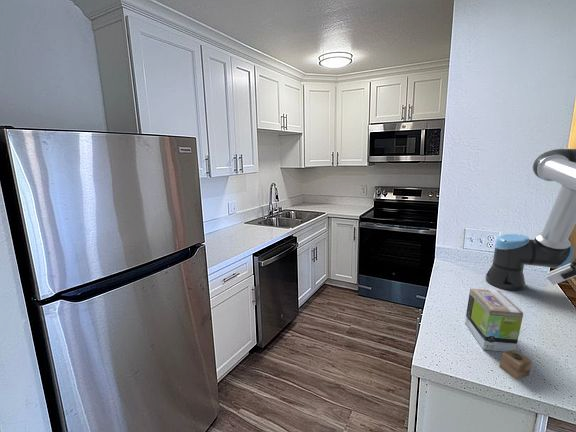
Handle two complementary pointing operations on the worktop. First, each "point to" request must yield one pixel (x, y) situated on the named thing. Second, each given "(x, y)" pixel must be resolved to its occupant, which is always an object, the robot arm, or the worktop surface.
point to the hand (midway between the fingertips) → (550, 278)
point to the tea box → (493, 320)
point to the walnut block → (515, 364)
